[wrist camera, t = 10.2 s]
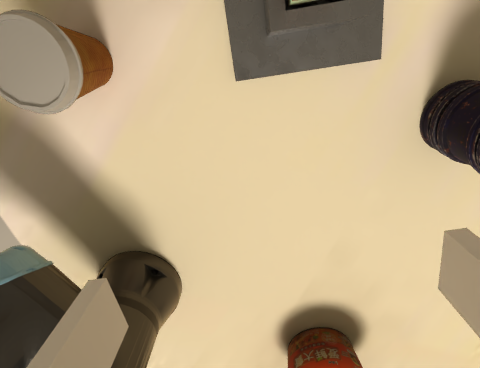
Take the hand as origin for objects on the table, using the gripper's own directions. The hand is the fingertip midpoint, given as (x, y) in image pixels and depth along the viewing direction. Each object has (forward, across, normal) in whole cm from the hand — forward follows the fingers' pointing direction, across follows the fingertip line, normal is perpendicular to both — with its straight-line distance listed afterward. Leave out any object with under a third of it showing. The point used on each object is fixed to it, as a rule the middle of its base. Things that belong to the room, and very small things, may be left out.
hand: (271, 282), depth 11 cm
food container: (+32, -6, +48) cm, 59 cm away
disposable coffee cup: (+32, +20, -12) cm, 40 cm away
